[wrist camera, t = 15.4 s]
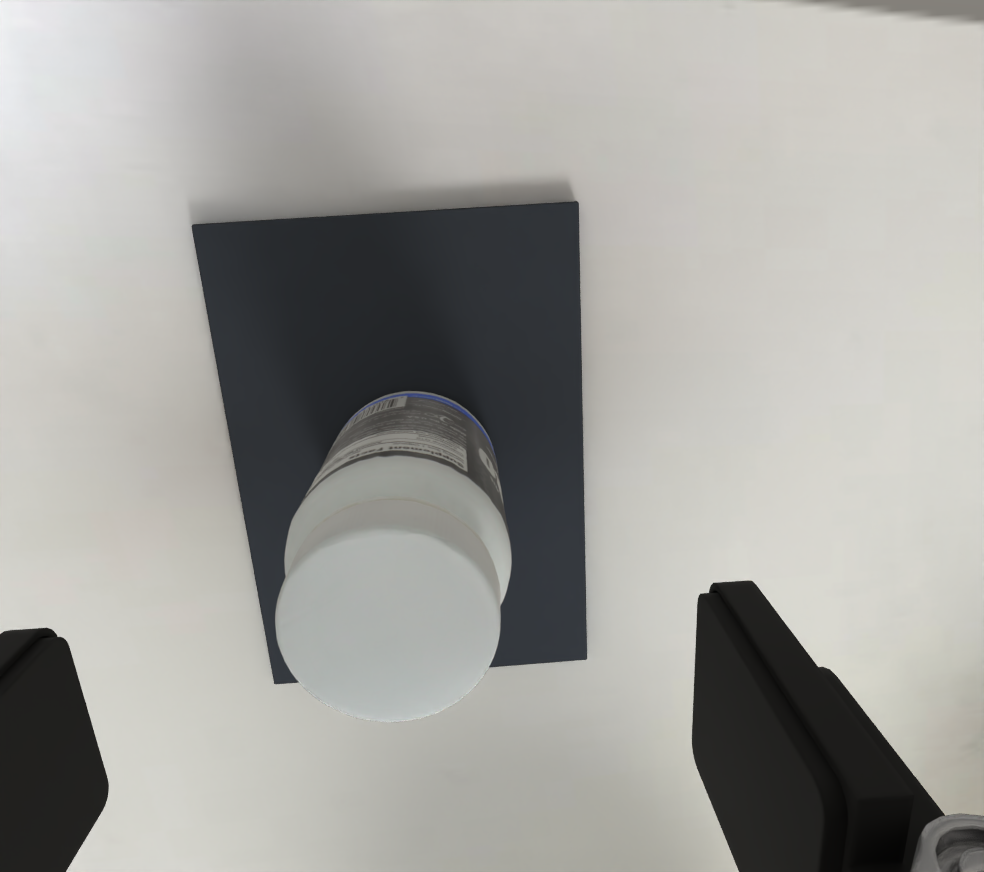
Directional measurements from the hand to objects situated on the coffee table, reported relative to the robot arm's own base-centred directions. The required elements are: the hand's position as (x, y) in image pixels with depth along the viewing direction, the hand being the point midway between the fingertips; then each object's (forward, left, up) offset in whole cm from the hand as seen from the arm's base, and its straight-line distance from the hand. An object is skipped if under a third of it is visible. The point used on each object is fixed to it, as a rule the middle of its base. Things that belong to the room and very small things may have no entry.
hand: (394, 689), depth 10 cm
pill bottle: (0, 0, -11) cm, 11 cm away
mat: (0, 0, -11) cm, 11 cm away
